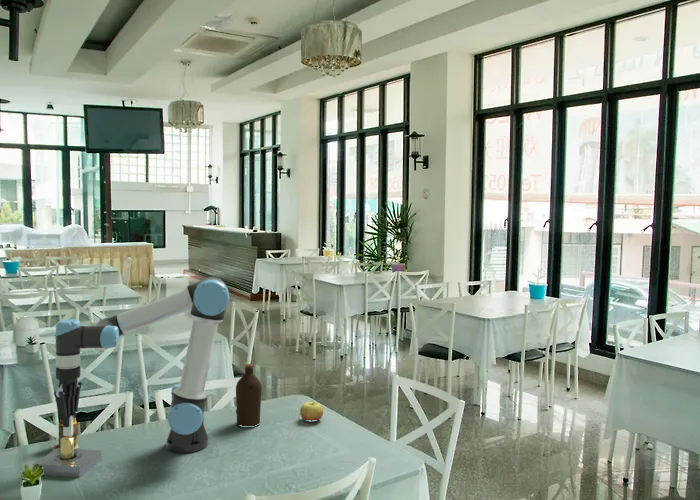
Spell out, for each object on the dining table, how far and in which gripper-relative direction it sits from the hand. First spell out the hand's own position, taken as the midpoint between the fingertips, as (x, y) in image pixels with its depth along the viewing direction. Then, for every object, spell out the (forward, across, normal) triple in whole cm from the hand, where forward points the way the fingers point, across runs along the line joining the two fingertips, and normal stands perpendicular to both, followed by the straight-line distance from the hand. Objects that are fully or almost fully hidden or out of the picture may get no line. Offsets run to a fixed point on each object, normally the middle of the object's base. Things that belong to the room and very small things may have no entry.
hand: (68, 435), depth 203 cm
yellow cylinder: (+11, 0, 0) cm, 11 cm away
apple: (+11, -60, +73) cm, 95 cm away
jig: (+11, 0, 0) cm, 11 cm away
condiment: (+11, -16, -11) cm, 22 cm away
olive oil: (+11, -51, +48) cm, 71 cm away
